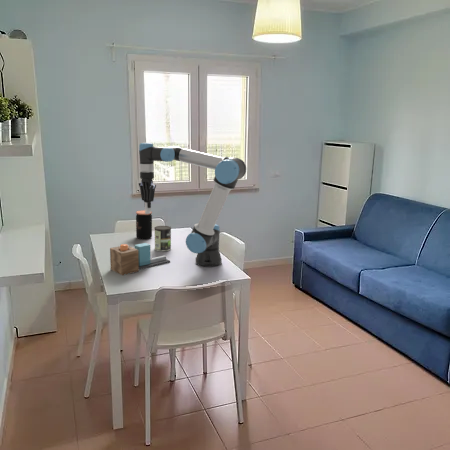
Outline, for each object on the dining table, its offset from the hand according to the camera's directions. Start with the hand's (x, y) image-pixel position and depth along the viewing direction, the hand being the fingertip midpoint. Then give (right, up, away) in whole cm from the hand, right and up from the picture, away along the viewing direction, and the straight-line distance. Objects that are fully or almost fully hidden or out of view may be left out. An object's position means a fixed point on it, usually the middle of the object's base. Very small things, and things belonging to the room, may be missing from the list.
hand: (147, 213), depth 250 cm
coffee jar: (-12, -15, +56) cm, 60 cm away
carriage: (-3, -28, -2) cm, 28 cm away
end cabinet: (-11, -31, -9) cm, 34 cm away
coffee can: (+4, -22, +31) cm, 38 cm away
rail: (+1, -29, +2) cm, 29 cm away
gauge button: (-11, -23, -11) cm, 28 cm away
